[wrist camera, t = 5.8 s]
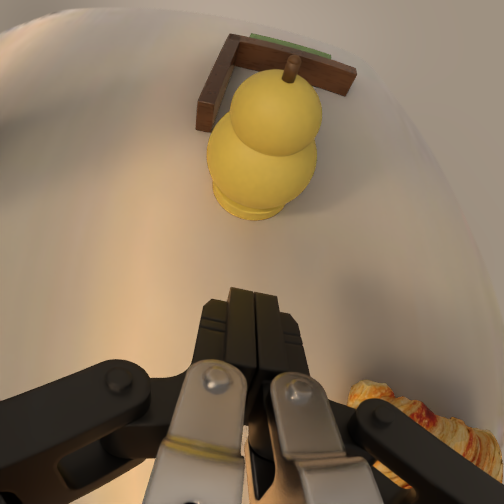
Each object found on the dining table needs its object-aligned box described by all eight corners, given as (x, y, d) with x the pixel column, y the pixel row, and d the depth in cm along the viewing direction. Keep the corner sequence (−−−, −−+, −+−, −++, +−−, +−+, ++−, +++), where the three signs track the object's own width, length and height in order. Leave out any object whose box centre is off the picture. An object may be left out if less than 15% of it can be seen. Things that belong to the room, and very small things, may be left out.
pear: (193, 217, 20) (202, 79, 10) (215, 142, 22) (237, 12, 12) (292, 239, 20) (372, 125, 11) (299, 162, 23) (358, 46, 13)
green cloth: (241, 58, 27) (243, 54, 26) (250, 37, 29) (251, 33, 28) (330, 82, 28) (332, 78, 27) (329, 58, 30) (331, 54, 29)
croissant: (290, 411, 19) (271, 474, 12) (411, 318, 18) (460, 338, 11) (422, 547, 15) (436, 603, 7) (513, 483, 14) (549, 526, 6)
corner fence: (195, 130, 22) (197, 100, 20) (225, 57, 26) (229, 33, 24) (349, 168, 24) (366, 145, 21) (344, 89, 28) (356, 68, 25)
